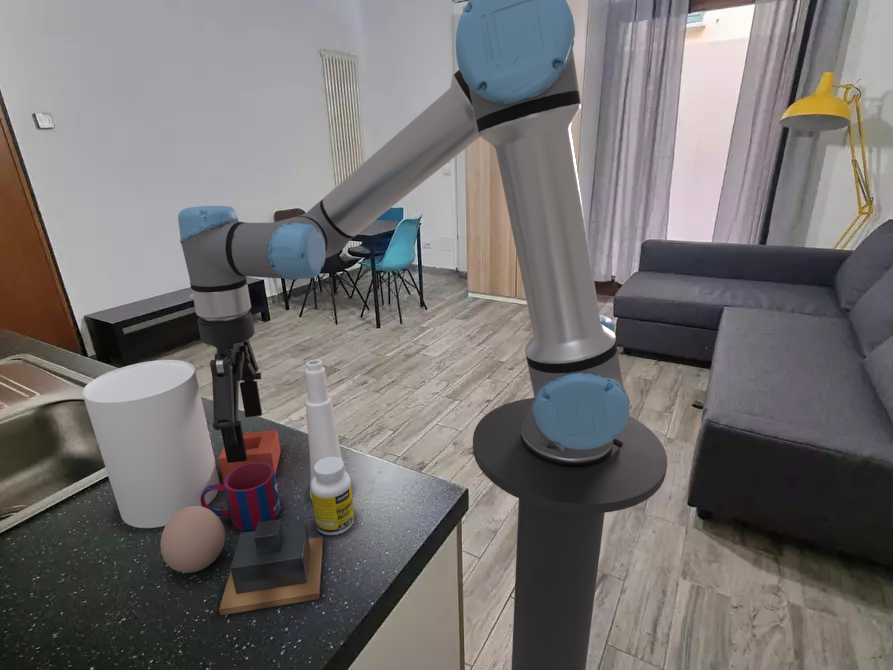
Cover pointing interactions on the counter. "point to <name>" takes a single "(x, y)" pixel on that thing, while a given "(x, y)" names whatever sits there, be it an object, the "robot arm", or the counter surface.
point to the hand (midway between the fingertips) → (246, 436)
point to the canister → (152, 439)
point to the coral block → (255, 451)
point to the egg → (192, 539)
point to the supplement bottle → (332, 496)
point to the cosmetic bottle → (320, 416)
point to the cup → (248, 495)
